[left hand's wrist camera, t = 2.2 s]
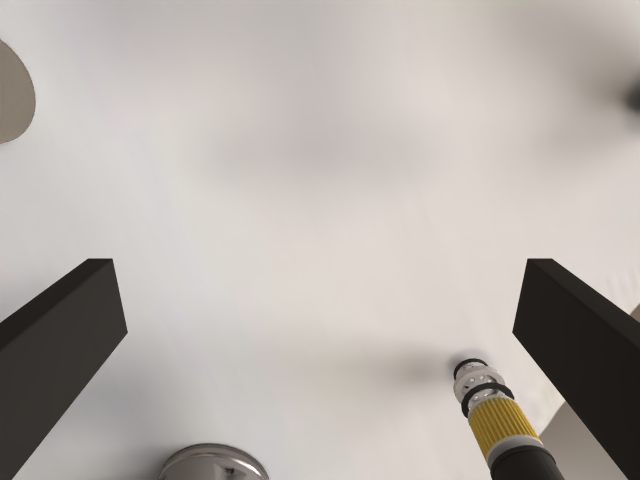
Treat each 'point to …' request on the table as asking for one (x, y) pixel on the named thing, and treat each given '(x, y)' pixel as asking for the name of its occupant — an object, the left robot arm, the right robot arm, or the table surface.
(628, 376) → the left robot arm
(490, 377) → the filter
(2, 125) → the jar
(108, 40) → the table surface
